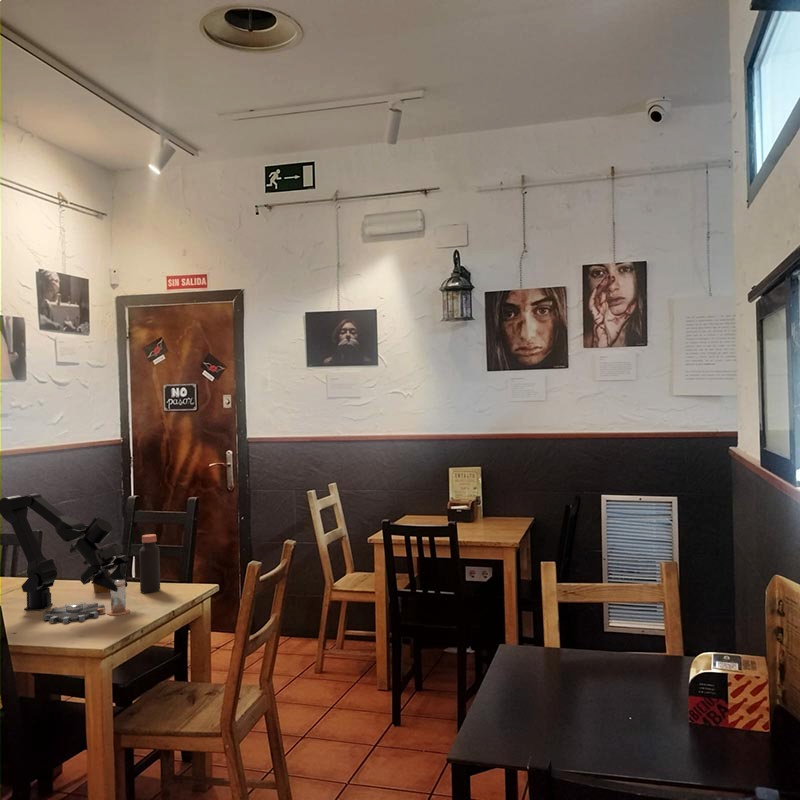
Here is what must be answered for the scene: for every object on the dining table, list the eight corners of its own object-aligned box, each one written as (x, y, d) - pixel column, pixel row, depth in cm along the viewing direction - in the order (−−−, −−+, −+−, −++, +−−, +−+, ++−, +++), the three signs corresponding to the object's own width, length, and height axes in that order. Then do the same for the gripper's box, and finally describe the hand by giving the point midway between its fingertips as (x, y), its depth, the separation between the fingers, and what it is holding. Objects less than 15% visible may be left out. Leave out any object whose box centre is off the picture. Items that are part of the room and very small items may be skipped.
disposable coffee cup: (111, 593, 257) (110, 559, 257) (84, 594, 257) (84, 560, 257) (121, 586, 267) (121, 554, 267) (95, 587, 267) (95, 554, 267)
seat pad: (103, 615, 230) (103, 614, 230) (112, 609, 237) (112, 608, 237) (124, 615, 230) (124, 614, 230) (133, 609, 237) (133, 608, 237)
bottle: (139, 594, 255) (138, 537, 255) (140, 589, 262) (139, 534, 262) (159, 592, 257) (158, 536, 257) (160, 587, 264) (159, 533, 264)
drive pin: (110, 614, 230) (109, 582, 230) (111, 610, 235) (110, 579, 235) (125, 612, 232) (124, 581, 232) (126, 608, 236) (125, 578, 236)
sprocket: (30, 622, 224) (30, 612, 224) (67, 606, 242) (67, 597, 242) (82, 624, 221) (82, 614, 221) (116, 607, 239) (116, 598, 239)
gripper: (87, 541, 225) (119, 578, 223) (124, 530, 243) (153, 564, 241) (66, 565, 227) (97, 602, 224) (104, 553, 245) (133, 587, 243)
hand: (121, 588), depth 233 cm, fingers open, 5 cm apart
